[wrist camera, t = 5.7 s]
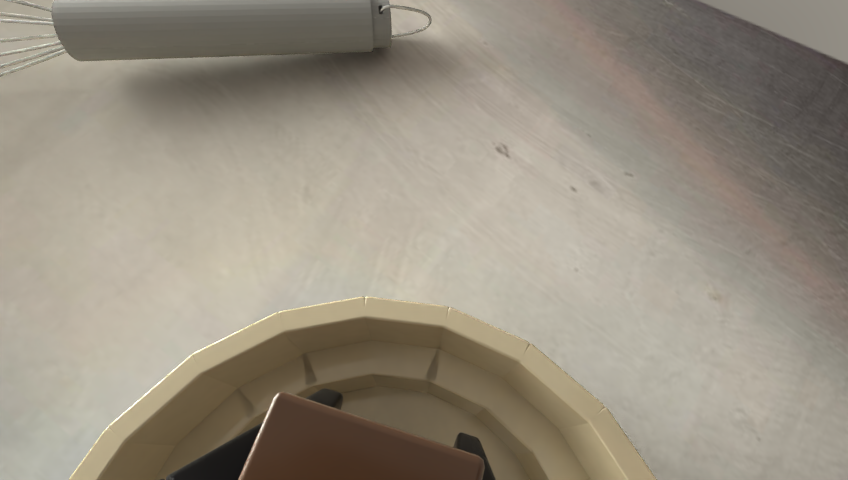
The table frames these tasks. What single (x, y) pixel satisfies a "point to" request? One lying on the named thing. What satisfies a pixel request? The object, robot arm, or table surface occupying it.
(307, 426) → the stir stick
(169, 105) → the table surface
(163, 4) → the kitchen whisk
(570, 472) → the bowl
